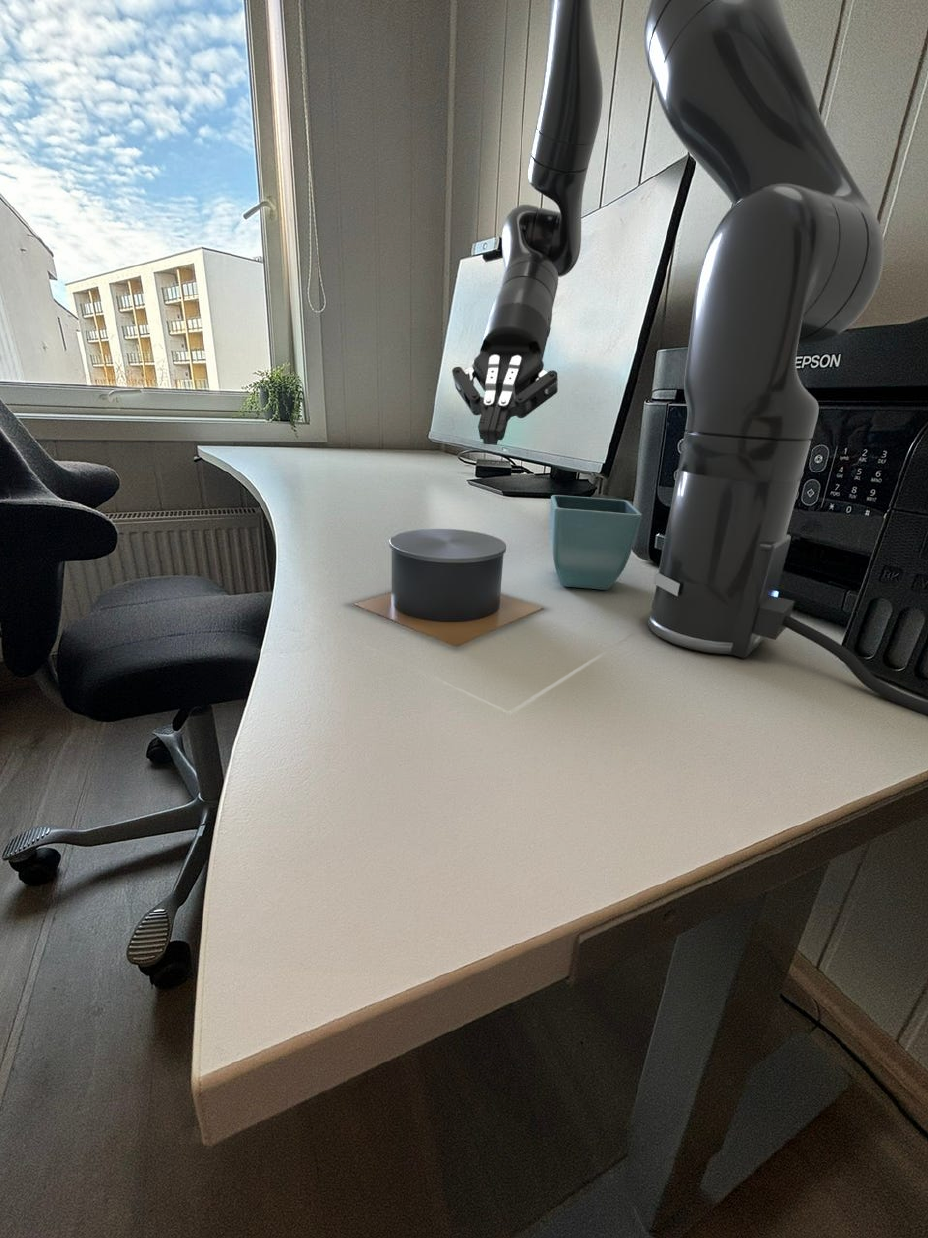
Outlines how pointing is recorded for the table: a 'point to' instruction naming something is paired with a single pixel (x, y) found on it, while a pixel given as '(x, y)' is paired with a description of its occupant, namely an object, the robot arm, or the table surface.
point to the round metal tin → (446, 574)
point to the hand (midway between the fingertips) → (489, 439)
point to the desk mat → (453, 630)
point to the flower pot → (591, 539)
